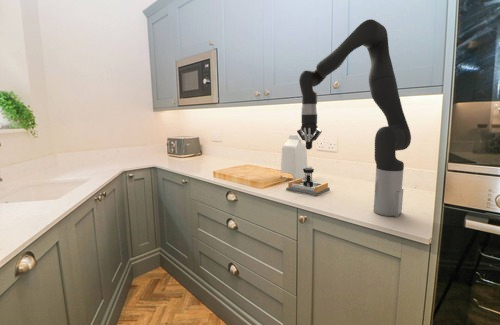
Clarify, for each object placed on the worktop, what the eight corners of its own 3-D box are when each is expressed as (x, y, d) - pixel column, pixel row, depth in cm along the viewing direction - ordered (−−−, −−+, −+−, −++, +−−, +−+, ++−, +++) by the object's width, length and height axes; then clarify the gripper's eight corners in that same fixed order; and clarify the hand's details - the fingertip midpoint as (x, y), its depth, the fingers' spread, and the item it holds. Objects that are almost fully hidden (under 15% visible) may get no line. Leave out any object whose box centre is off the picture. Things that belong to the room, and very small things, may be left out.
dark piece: (299, 187, 138) (300, 168, 136) (300, 184, 143) (301, 166, 141) (313, 188, 136) (313, 168, 134) (313, 185, 141) (314, 166, 139)
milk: (280, 176, 170) (280, 134, 166) (292, 173, 178) (292, 133, 173) (295, 180, 161) (296, 135, 157) (307, 176, 169) (308, 134, 164)
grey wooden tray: (324, 187, 139) (324, 183, 138) (314, 192, 131) (314, 188, 131) (302, 183, 147) (302, 180, 147) (291, 187, 140) (291, 184, 139)
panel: (329, 189, 139) (329, 182, 138) (316, 196, 129) (316, 188, 128) (300, 184, 150) (300, 177, 150) (286, 190, 140) (286, 182, 139)
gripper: (325, 113, 131) (324, 149, 134) (301, 114, 140) (301, 147, 143) (318, 113, 126) (317, 151, 129) (293, 114, 135) (293, 149, 138)
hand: (308, 149), depth 136 cm, fingers closed
